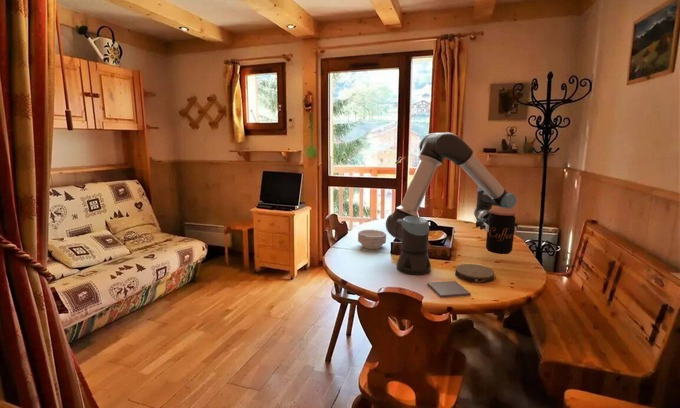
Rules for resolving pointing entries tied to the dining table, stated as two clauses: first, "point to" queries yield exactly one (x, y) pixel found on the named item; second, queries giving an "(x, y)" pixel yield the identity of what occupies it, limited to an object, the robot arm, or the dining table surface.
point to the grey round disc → (474, 273)
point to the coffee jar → (500, 231)
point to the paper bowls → (371, 238)
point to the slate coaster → (448, 289)
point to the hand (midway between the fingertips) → (501, 229)
